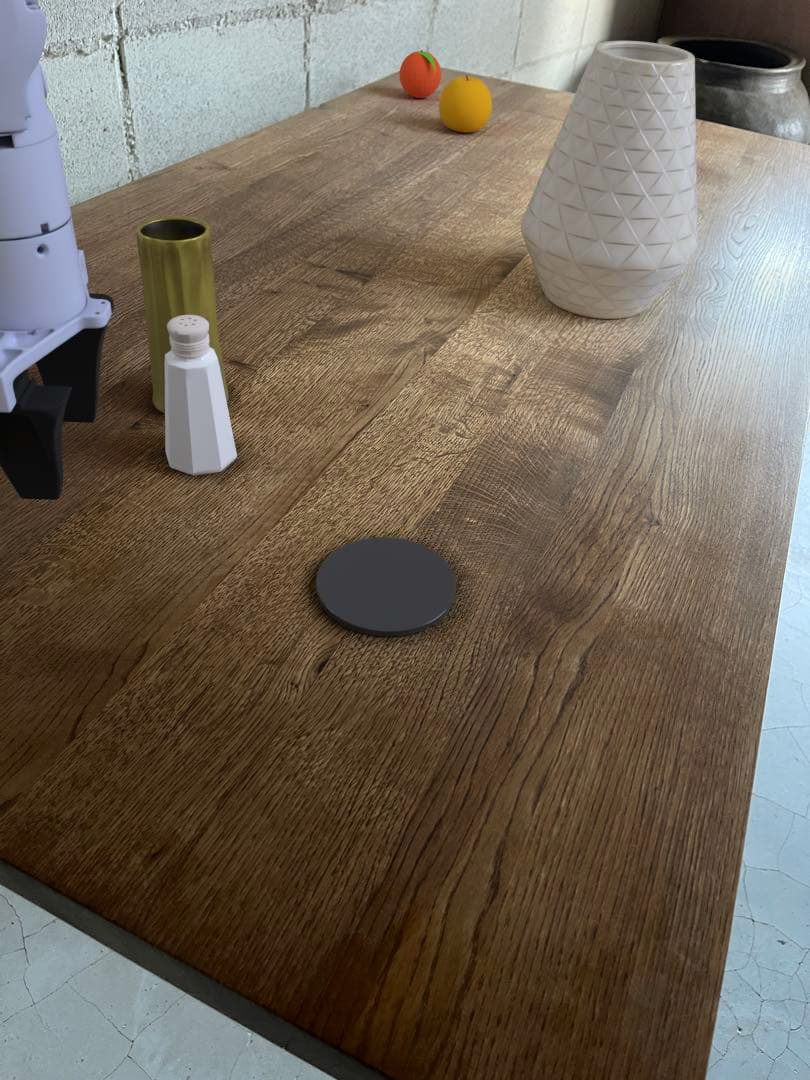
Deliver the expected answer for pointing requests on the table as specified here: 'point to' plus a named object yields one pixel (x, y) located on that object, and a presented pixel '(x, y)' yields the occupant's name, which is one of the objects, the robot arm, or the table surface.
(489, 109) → the apple
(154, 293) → the vase
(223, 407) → the pepper shaker
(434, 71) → the clementine
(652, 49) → the vase
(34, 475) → the robot arm
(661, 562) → the table surface
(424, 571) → the slate coaster
